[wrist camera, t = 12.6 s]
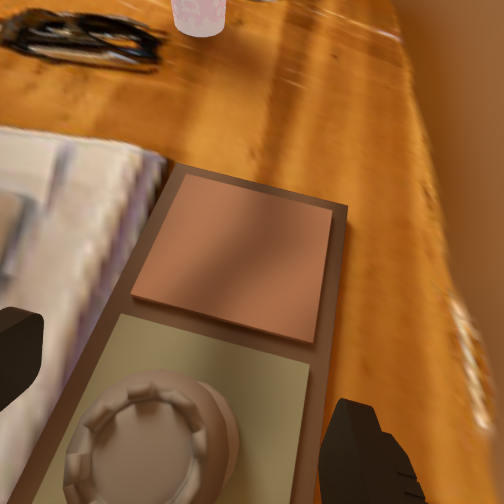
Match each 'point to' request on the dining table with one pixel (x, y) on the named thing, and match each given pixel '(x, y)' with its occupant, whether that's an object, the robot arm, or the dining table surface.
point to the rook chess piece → (152, 443)
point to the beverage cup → (199, 16)
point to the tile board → (220, 328)
